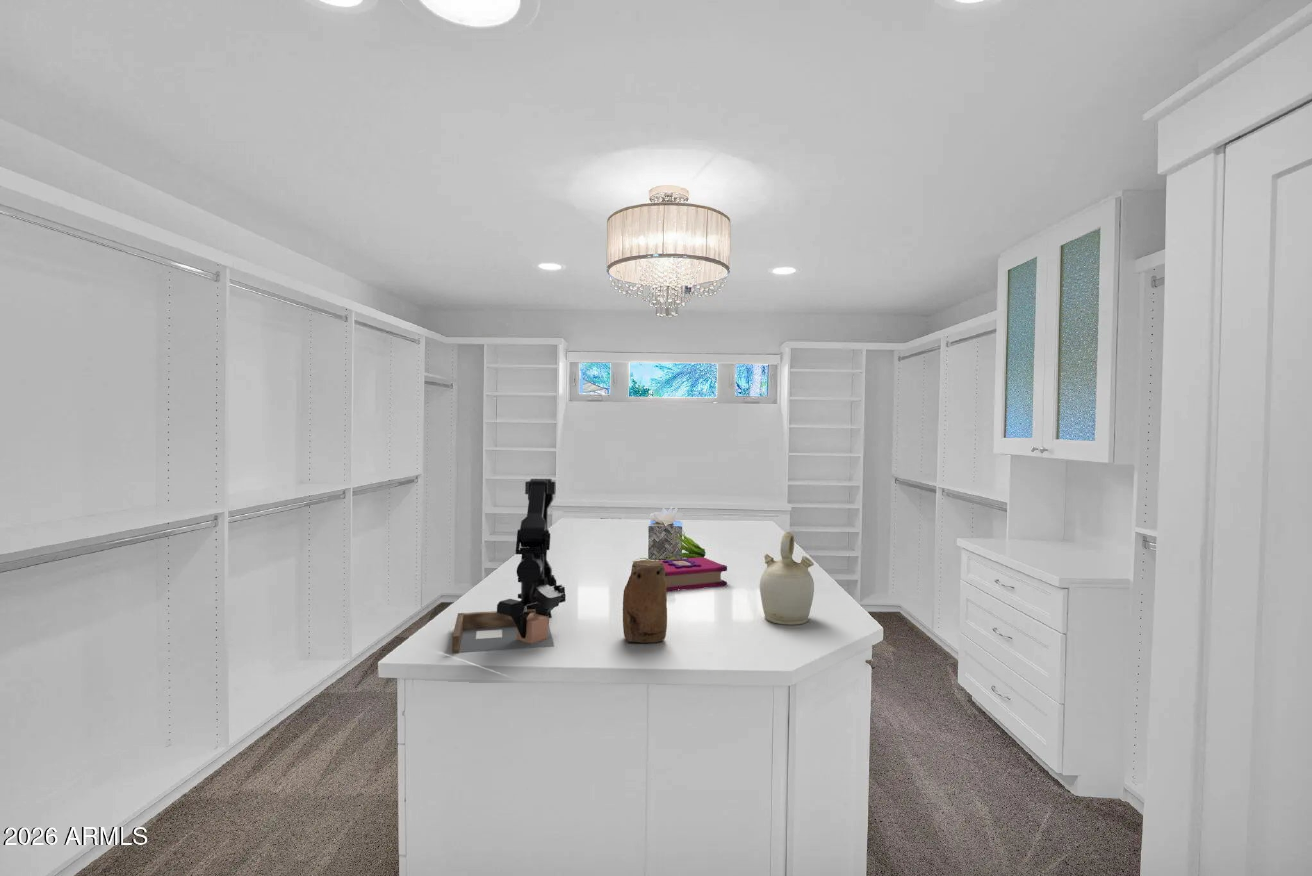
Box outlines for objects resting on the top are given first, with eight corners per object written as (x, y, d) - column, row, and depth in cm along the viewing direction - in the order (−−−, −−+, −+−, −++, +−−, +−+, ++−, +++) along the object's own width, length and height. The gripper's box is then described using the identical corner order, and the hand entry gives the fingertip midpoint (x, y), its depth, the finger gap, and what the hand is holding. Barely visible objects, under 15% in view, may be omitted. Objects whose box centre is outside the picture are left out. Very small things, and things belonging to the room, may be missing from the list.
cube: (532, 633, 167) (533, 612, 167) (547, 638, 164) (547, 616, 164) (516, 639, 163) (516, 617, 163) (531, 643, 160) (531, 621, 160)
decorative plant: (635, 558, 273) (635, 523, 273) (705, 559, 272) (705, 524, 272) (631, 566, 255) (631, 529, 255) (706, 568, 254) (706, 530, 254)
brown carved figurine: (661, 634, 169) (662, 558, 169) (668, 643, 162) (669, 564, 162) (620, 636, 167) (621, 560, 166) (626, 646, 159) (627, 565, 159)
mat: (548, 623, 177) (548, 622, 177) (554, 647, 158) (554, 645, 158) (457, 629, 172) (457, 627, 172) (452, 654, 152) (452, 652, 152)
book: (632, 580, 233) (632, 559, 233) (701, 574, 244) (701, 554, 244) (655, 594, 213) (655, 571, 213) (728, 586, 224) (728, 565, 224)
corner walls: (548, 622, 177) (548, 608, 177) (554, 646, 158) (554, 630, 158) (457, 628, 172) (458, 613, 172) (452, 653, 152) (452, 636, 152)
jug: (823, 618, 185) (824, 532, 185) (795, 630, 173) (796, 538, 173) (778, 608, 195) (778, 526, 195) (748, 619, 184) (749, 532, 184)
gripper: (526, 585, 151) (526, 651, 151) (581, 572, 166) (580, 632, 166) (495, 578, 158) (495, 642, 158) (550, 566, 173) (550, 624, 173)
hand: (532, 635), depth 164 cm, fingers closed on cube, 5 cm apart
